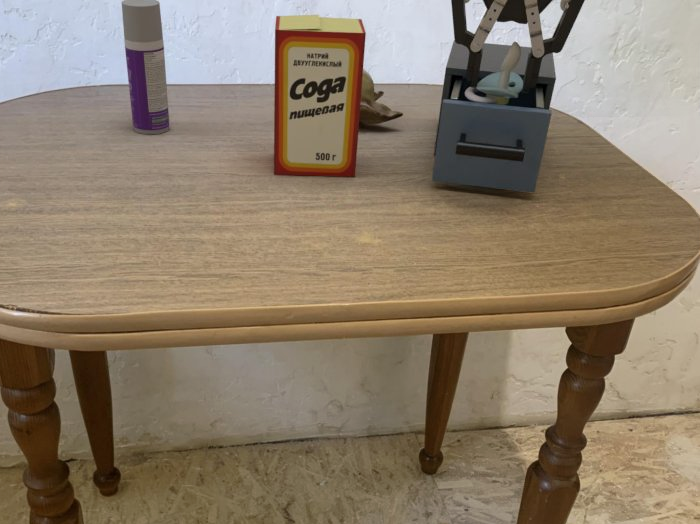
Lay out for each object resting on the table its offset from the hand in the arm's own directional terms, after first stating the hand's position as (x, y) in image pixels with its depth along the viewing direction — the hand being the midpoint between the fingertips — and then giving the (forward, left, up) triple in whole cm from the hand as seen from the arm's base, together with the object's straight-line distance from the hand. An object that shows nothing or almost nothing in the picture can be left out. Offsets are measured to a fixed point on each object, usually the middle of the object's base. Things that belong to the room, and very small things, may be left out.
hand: (499, 87), depth 85 cm
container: (+43, -4, -10) cm, 44 cm away
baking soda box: (+20, +2, -10) cm, 23 cm away
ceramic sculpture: (+20, -15, -10) cm, 27 cm away
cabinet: (0, -12, -10) cm, 16 cm away
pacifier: (+1, 0, -2) cm, 2 cm away
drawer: (0, +1, -9) cm, 9 cm away
